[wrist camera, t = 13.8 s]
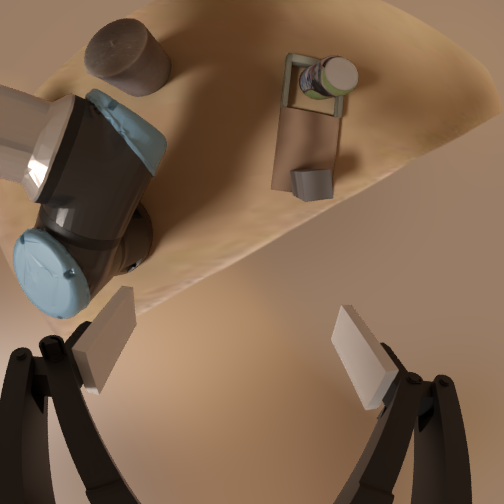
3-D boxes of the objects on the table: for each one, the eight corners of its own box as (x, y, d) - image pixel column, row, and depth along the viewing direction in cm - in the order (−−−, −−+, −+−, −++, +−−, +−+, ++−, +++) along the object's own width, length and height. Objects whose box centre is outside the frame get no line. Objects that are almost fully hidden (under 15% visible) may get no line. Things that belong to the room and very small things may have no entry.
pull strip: (270, 191, 44) (279, 198, 35) (286, 57, 37) (297, 34, 28) (327, 199, 45) (348, 208, 36) (341, 69, 38) (363, 51, 29)
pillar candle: (141, 43, 34) (108, 8, 20) (182, 61, 36) (159, 23, 22) (111, 86, 36) (66, 64, 22) (150, 106, 38) (113, 85, 24)
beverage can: (319, 65, 37) (343, 39, 26) (341, 99, 40) (372, 82, 28) (289, 78, 38) (306, 52, 27) (312, 113, 40) (337, 97, 29)
